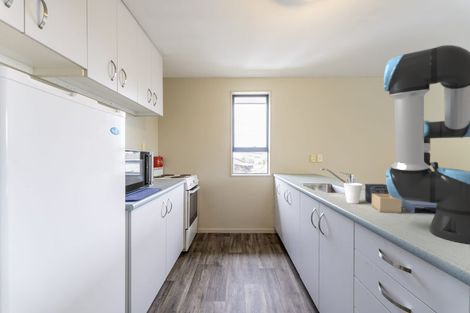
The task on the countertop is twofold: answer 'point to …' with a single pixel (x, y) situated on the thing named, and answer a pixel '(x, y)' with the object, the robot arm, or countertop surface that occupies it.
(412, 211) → the lid
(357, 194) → the cup
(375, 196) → the tray
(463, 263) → the countertop surface
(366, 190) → the small box
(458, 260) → the countertop surface
